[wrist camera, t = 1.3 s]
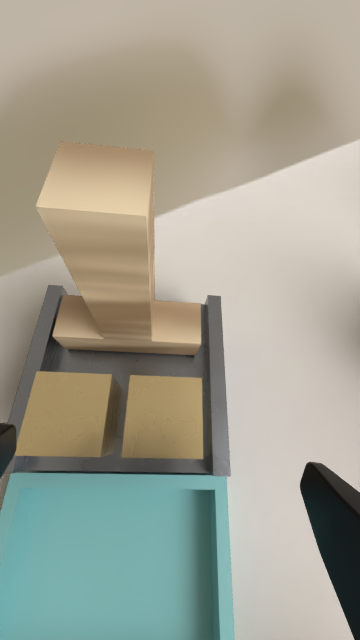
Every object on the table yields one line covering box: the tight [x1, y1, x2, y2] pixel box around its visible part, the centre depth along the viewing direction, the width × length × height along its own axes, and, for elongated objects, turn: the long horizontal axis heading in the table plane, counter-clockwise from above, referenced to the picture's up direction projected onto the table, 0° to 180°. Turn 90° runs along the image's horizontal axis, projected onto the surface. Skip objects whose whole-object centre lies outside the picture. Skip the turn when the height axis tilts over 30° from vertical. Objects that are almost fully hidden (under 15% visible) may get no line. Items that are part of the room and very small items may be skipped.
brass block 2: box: [121, 375, 203, 459], centre depth 15 cm, size 4×4×4 cm
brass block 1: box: [14, 371, 121, 457], centre depth 14 cm, size 4×4×4 cm
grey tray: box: [4, 285, 231, 477], centre depth 19 cm, size 12×13×6 cm
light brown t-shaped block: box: [36, 141, 201, 355], centre depth 13 cm, size 3×9×12 cm, turn 89°
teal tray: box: [0, 470, 235, 640], centre depth 15 cm, size 11×14×2 cm
